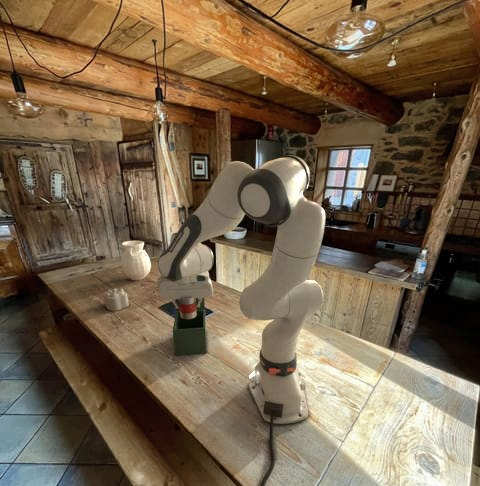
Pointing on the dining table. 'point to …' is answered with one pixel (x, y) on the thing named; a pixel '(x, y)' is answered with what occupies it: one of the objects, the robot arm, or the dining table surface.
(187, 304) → the can
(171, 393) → the dining table surface
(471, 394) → the dining table surface
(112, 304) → the lumpy-topped squat cylinder
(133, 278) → the pitcher
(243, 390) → the dining table surface
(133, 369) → the dining table surface
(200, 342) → the chest
